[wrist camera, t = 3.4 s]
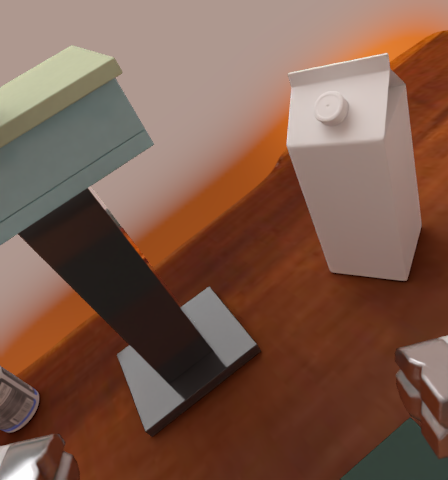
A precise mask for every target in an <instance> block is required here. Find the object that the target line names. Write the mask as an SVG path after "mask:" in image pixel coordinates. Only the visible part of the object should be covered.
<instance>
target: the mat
mask: <svg viewBox="0 0 448 480" xmlns="http://www.w3.org/2000/svg"><path fill="white" fill-rule="evenodd" d="M340 480H448V458H443V459H438V458H437V456H436V455H435V453H434V452H433V450H432V449H431V447H430V445H429V444H428V442H427V441H426V439H425V438H424V436H423V435H422V433H421V427H420V426H419V425H418V424H417V423H416V422H415V421H414V420H413V419H411V418H409V419H408V420H407V421H405V422H404V423H403V424H402V425H401V426H400V427H399V428H397V429H396V430H395V431H394V432H393V433H392V434H391V435H390V436H388V437H387V438H386V439H385V440H384V441H383V442H382V443H380V444H379V445H378V446H377V447H376V448H375V449H374V450H373V451H371V452H370V453H369V454H368V455H367V456H366V457H365V458H363V459H362V460H361V461H360V462H359V463H358V464H357V465H356V466H354V467H353V468H352V469H351V470H350V471H349V472H348V473H347V474H345V475H344V476H343V477H342V478H341V479H340Z"/></svg>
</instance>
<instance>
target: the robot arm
mask: <svg viewBox="0 0 448 480" xmlns="http://www.w3.org/2000/svg"><path fill="white" fill-rule="evenodd" d="M395 362H396V363H397V365H398V366H399V367H400V370H399V371H398V373H397V374H396V385H397V389H398V392H399V395H400V398H401V400H402V402H403V404H404V406H405V408H406V410H407V411H408V413H409V414H410V416H412V417H414V418H415V419H417V420H419V421H421V433H422V435H423V436H424V438H425V439H426V441H427V442H428V444H429V445H430V447H431V449H432V450H433V452H434V453H435V455H436V456H437V458H438V459H443V458H448V335H447V336H443V337H439V338H438V339H437V338H435V339H431V340H427V341H424V342H420V343H416V344H412V345H408V346H404V347H401V348H397V349H396V352H395ZM64 446H65V442H64V440H63V439H62V437H61V436H60V434H52V435H48V436H43V437H38V438H34V439H29V440H25V441H20V442H16V443H13V444H8V445H4V446H0V480H80V472H79V468H78V464H77V461H76V460H75V458H74V456H73V455H71V454H69V453H67V452H65V451H63V450H64Z"/></svg>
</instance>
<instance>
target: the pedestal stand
mask: <svg viewBox="0 0 448 480" xmlns="http://www.w3.org/2000/svg"><path fill="white" fill-rule="evenodd" d="M153 145H154V143H153V141H152V140H151V138H150V136H149V135H148V133H147V131H146V130H145V128H144V126H143V124H142V123H141V121H140V119H139V118H138V116H137V114H136V112H135V111H134V109H133V107H132V106H131V104H130V102H129V101H128V99H127V97H126V95H125V94H124V92H123V90H122V89H121V87H120V85H119V84H118V82H117V80H116V78H114V79H112V80H111V81H109V82H107V83H106V84H104V85H102V86H101V87H99V88H97V89H96V90H94V91H93V92H91V93H89V94H88V95H86V96H84V97H83V98H81V99H80V100H78V101H76V102H75V103H73V104H71V105H70V106H68V107H67V108H65V109H63V110H62V111H60V112H58V113H57V114H55V115H53V116H52V117H50V118H49V119H47V120H45V121H44V122H42V123H40V124H39V125H37V126H36V127H34V128H32V129H31V130H29V131H27V132H26V133H24V134H22V135H21V136H19V137H18V138H16V139H14V140H13V141H11V142H9V143H8V144H6V145H5V146H3V147H1V148H0V245H1V244H3V243H4V242H6V241H8V240H9V239H11V238H12V237H14V236H15V235H16V234H18V235H20V237H21V238H22V239H23V240H24V241H25V242H27V244H29V246H30V247H32V248H33V250H34V251H35V252H37V253H38V255H39V256H41V258H43V259H44V260H45V261H46V262H47V263H48V264H49V265H50V266H51V267H52V268H53V269H54V270H55V271H56V272H57V273H58V274H59V275H60V276H61V277H62V278H63V279H64V280H65V281H66V282H67V283H68V284H69V285H70V286H71V287H72V288H73V289H74V290H75V291H76V292H77V293H78V294H79V295H80V296H81V297H82V298H83V299H84V300H85V301H86V302H87V303H88V304H89V305H90V306H91V307H92V308H93V309H94V310H95V311H96V312H97V313H98V314H99V315H100V316H101V317H102V318H103V319H104V320H105V321H106V322H107V323H108V324H109V325H110V326H111V327H112V328H113V329H114V330H115V331H116V332H117V333H118V334H119V335H120V336H121V337H122V338H123V339H124V340H125V341H126V342H127V343H128V344H129V346H128V347H126V348H125V349H123V350H122V351H121V352H119V353H118V354H117V357H118V359H119V362H120V365H121V367H122V370H123V373H124V376H125V378H126V381H127V384H128V386H129V389H130V392H131V394H132V397H133V400H134V403H135V405H136V408H137V411H138V413H139V416H140V419H141V421H142V424H143V427H144V430H145V432H146V433H148V434H149V435H150V436H151V437H153V436H154V435H155V434H157V433H158V432H159V431H161V430H162V429H163V428H164V427H166V426H167V425H168V424H169V423H171V422H172V421H173V420H175V419H176V418H177V417H178V416H180V415H181V414H182V413H183V412H185V411H186V410H187V409H188V408H190V407H191V406H192V405H194V404H195V403H196V402H197V401H199V400H200V399H201V398H202V397H204V396H205V395H206V394H208V393H209V392H210V391H211V390H213V389H214V388H215V387H216V386H218V385H219V384H220V383H221V382H223V381H224V380H225V379H227V378H228V377H229V376H230V375H232V374H233V373H234V372H235V371H237V370H238V369H239V368H240V367H242V366H243V365H244V364H246V363H247V362H248V361H249V360H251V359H252V358H253V357H254V356H256V355H257V354H258V353H260V352H261V350H260V348H259V347H258V345H257V344H256V342H255V341H254V340H253V339H252V337H251V336H250V335H249V334H248V333H247V331H246V330H245V329H244V328H243V326H242V325H241V324H240V323H239V322H238V320H237V319H236V318H235V317H234V315H233V314H232V313H231V312H230V311H229V309H228V308H227V307H226V306H225V304H224V303H223V302H222V301H221V300H220V298H219V297H218V296H217V295H216V293H215V292H214V291H213V290H212V289H211V287H210V286H209V287H207V288H206V289H205V290H203V291H202V292H201V293H199V294H198V295H197V296H195V297H194V298H193V299H191V300H190V301H188V302H187V303H186V304H184V305H183V306H182V305H181V304H180V302H179V301H178V300H177V298H176V297H175V296H174V294H173V293H172V292H171V291H170V289H169V288H168V287H167V285H166V284H165V283H164V281H163V280H162V279H161V277H160V276H159V275H158V274H157V272H156V271H155V270H154V268H153V267H152V266H151V264H150V263H149V262H148V261H147V259H146V258H145V257H144V255H143V254H142V253H141V251H140V250H139V249H138V247H137V246H136V245H135V243H134V242H133V241H132V240H131V238H130V237H129V236H128V234H127V233H126V232H125V230H124V229H123V228H122V227H121V225H120V224H119V223H118V221H117V220H116V219H115V217H114V216H113V215H112V213H111V212H110V211H109V210H108V208H107V207H106V206H105V204H104V203H103V202H102V200H101V199H100V198H99V196H98V195H97V194H96V192H95V191H94V190H93V188H92V187H91V185H93V184H94V183H96V182H98V181H99V180H101V179H102V178H104V177H105V176H107V175H108V174H110V173H111V172H113V171H114V170H116V169H117V168H119V167H121V166H122V165H124V164H125V163H127V162H128V161H129V160H131V159H133V158H134V157H136V156H137V155H139V154H140V153H142V152H143V151H145V150H146V149H148V148H150V147H151V146H153Z"/></svg>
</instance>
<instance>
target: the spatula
mask: <svg viewBox="0 0 448 480" xmlns="http://www.w3.org/2000/svg"><path fill="white" fill-rule="evenodd" d="M120 74H122V70H121V68H120V67H119V65H118V63H117V61H116V60H115V58H113V57H110V56H107V55H103V54H100V53H97V52H93V51H89V50H86V49H83V48H79V47H76V46H73V45H72V46H70V47H68V48H66V49H65V50H63V51H61V52H60V53H58V54H56V55H55V56H53V57H51V58H49V59H48V60H46V61H44V62H43V63H41V64H39V65H37V66H36V67H34V68H32V69H31V70H29V71H28V72H25V73H24V74H22V75H20V76H19V77H17V78H15V79H14V80H12V81H10V82H9V83H7V84H5V85H3V86H2V87H0V148H1V147H3V146H5V145H6V144H8V143H9V142H11V141H13V140H14V139H16V138H18V137H19V136H21V135H22V134H24V133H26V132H27V131H29V130H31V129H32V128H34V127H36V126H37V125H39V124H40V123H42V122H44V121H45V120H47V119H49V118H50V117H52V116H53V115H55V114H57V113H58V112H60V111H62V110H63V109H65V108H67V107H68V106H70V105H71V104H73V103H75V102H76V101H78V100H80V99H81V98H83V97H84V96H86V95H88V94H89V93H91V92H93V91H94V90H96V89H97V88H99V87H101V86H102V85H104V84H106V83H107V82H109V81H111V80H112V79H114V78H115V77H117V76H118V75H120Z"/></svg>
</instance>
